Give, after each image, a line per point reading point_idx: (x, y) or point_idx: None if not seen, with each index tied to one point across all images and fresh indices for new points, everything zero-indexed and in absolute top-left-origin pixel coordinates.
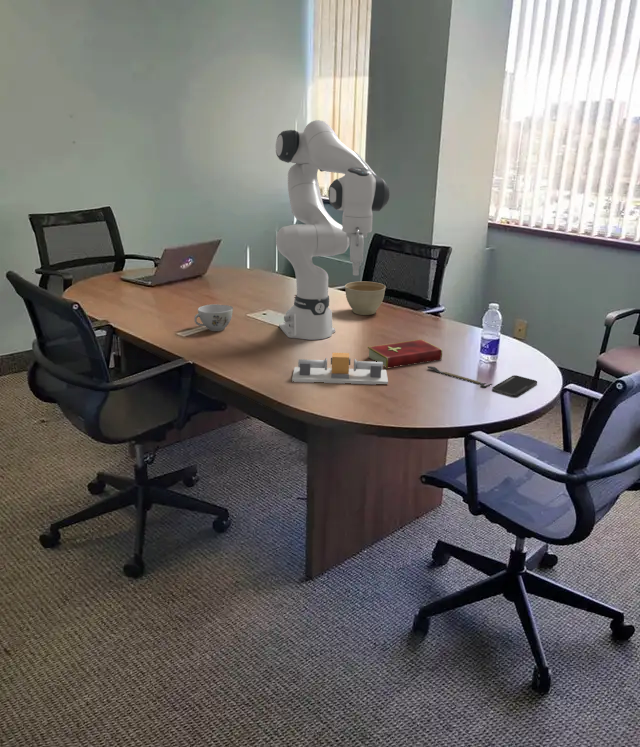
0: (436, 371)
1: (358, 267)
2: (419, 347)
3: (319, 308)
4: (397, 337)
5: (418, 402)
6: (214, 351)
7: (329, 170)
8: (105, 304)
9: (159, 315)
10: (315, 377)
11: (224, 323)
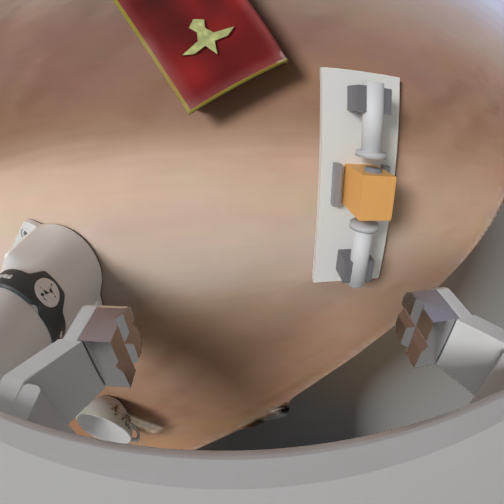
0: None
1: (496, 333)
2: None
3: (50, 293)
4: (32, 63)
5: (464, 47)
6: (220, 398)
7: None
8: None
9: None
10: (376, 236)
11: (116, 406)
